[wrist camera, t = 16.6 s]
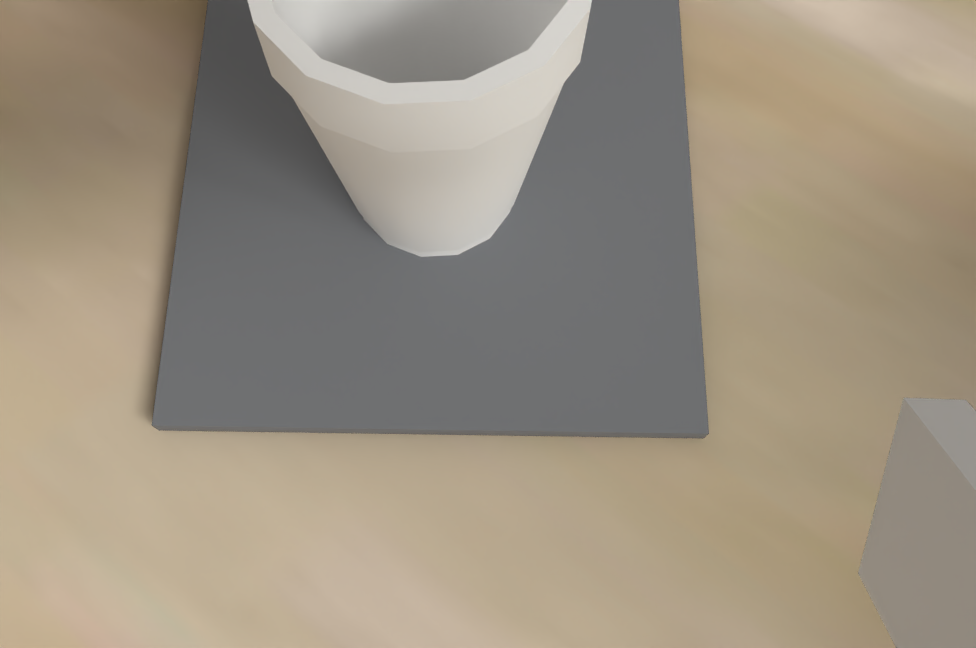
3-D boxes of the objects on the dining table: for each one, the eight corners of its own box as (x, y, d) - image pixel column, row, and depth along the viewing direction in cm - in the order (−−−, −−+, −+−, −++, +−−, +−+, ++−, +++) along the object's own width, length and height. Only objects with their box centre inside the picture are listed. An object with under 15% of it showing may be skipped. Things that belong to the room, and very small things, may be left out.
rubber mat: (673, -10, 40) (677, -22, 40) (703, 438, 34) (708, 433, 33) (217, -20, 40) (212, -33, 39) (158, 430, 34) (151, 425, 33)
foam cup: (345, 65, 38) (286, -211, 26) (567, 98, 38) (615, -165, 25) (293, 275, 35) (198, 76, 23) (534, 313, 35) (572, 132, 22)
